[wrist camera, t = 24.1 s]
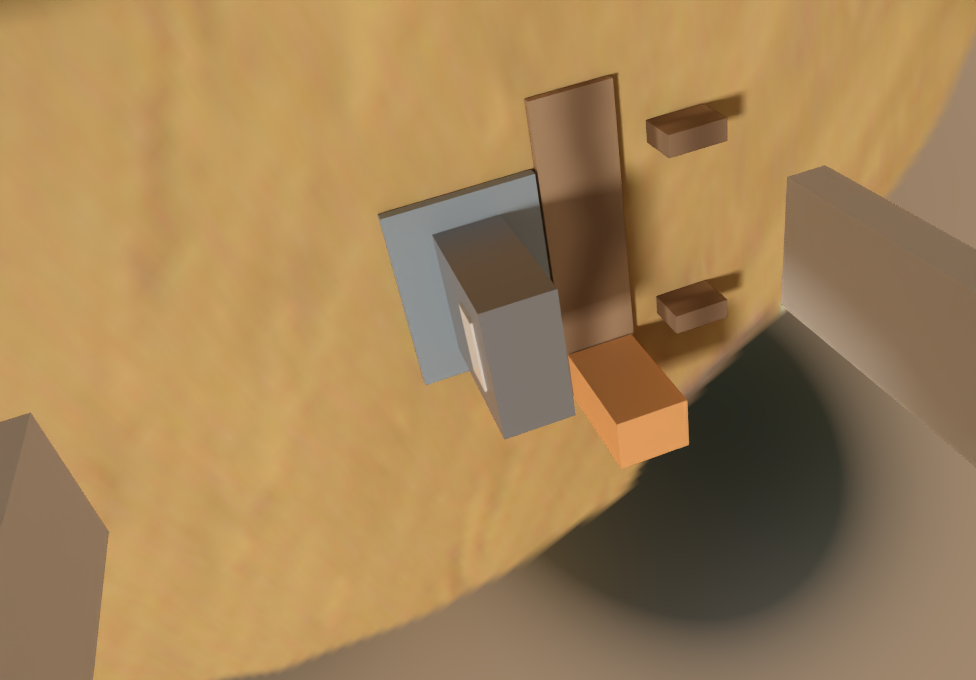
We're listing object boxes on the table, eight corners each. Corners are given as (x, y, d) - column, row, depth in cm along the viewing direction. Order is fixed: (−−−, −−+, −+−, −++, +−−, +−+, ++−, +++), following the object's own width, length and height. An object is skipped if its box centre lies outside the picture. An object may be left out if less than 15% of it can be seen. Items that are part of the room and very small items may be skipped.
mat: (423, 378, 58) (426, 385, 57) (377, 214, 50) (380, 219, 49) (555, 335, 59) (559, 340, 58) (530, 169, 52) (534, 173, 51)
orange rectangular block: (573, 396, 62) (621, 468, 55) (567, 355, 59) (616, 424, 53) (634, 376, 63) (688, 444, 56) (631, 334, 60) (687, 400, 53)
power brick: (457, 350, 56) (501, 440, 48) (429, 235, 51) (475, 315, 43) (520, 329, 57) (575, 415, 49) (499, 214, 52) (557, 289, 44)
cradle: (567, 392, 62) (582, 415, 60) (524, 98, 49) (541, 113, 47) (706, 344, 64) (727, 365, 62) (701, 49, 51) (727, 61, 48)
